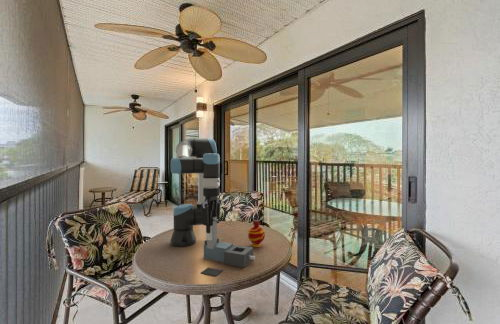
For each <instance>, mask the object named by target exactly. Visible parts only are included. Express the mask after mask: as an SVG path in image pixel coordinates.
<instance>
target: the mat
mask: <svg viewBox="0 0 500 324" xmlns="http://www.w3.org/2000/svg"><path fill="white" fill-rule="evenodd" d="M223 272H224V271H223V269H219V268H214V267H213V268H212V267H207V268H205V269H204V270H202V271H200V274H202V275H206V276H211V277H217V276H219V275H220V274H221V273H223Z"/></svg>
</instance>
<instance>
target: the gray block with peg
mask: <svg viewBox="0 0 500 324" xmlns="http://www.w3.org/2000/svg"><path fill="white" fill-rule="evenodd" d="M217 222H218V219H217V216H212V221H211V225H212V240H207V248H209V249H214V248H216V247H217V238H218V223H217Z"/></svg>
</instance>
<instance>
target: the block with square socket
mask: <svg viewBox="0 0 500 324" xmlns="http://www.w3.org/2000/svg"><path fill="white" fill-rule="evenodd" d="M203 242H204V244H203V259H206V260H209V261H216V262H221V263H223V264H224V265H228V266H234V267H238V268H239V267H240V268H246V267H247V266H248V265H249V264H250V263H251V262H252V261H255V259H256V256H255V255H254V247H253V246H244V245H237V244H234V243H230V242H226V241H225V242H223V241H220V238H219V237H217V247H216V248H214V249H209V248H207V240H206V239H205V240H204V241H203Z"/></svg>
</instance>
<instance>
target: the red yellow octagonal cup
mask: <svg viewBox="0 0 500 324" xmlns="http://www.w3.org/2000/svg"><path fill="white" fill-rule="evenodd" d="M260 221H261V220H260V219H253V220H252V224H253V227H251V228H249V230H248V231H247V233H248V234H247V237H248V240H249V241H250V242H251V243H252V245H251V247H253V248H259V247H261V246H262V245H261V243H262V242H263V241H264V240H265V236H266V235H265V234H266V232H265V230H264V229H263V228H262V227H261V226H260V225H261V222H260Z"/></svg>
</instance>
